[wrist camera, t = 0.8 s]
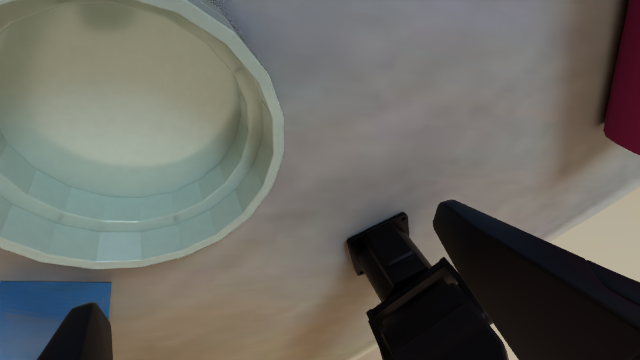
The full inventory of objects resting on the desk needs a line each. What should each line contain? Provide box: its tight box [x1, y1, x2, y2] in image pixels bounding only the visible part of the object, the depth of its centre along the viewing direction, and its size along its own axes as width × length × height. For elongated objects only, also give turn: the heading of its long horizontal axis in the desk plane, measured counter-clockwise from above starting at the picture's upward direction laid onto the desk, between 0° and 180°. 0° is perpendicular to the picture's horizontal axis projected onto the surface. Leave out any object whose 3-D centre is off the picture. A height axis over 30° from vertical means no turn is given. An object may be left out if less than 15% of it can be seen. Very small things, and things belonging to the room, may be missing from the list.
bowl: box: [0, 0, 284, 269], centre depth 17 cm, size 14×14×5 cm
